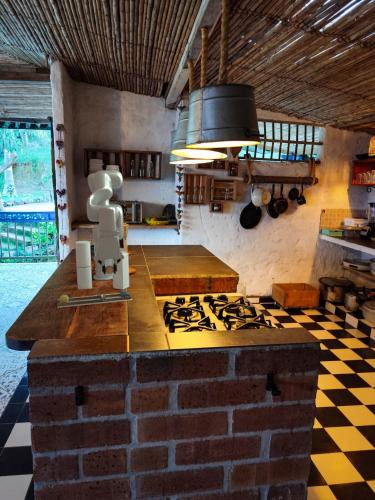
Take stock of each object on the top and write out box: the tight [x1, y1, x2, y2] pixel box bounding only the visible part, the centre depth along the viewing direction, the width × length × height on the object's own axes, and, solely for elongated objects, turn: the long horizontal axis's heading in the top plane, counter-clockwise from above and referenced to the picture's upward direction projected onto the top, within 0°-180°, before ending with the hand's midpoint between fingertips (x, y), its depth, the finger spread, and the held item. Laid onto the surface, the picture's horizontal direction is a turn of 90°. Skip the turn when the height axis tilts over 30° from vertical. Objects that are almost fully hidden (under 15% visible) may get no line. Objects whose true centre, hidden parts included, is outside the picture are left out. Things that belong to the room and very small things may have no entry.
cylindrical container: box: [74, 240, 93, 290], centre depth 181 cm, size 7×7×25 cm
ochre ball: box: [59, 294, 70, 303], centre depth 158 cm, size 4×4×4 cm
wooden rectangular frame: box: [102, 292, 132, 303], centre depth 166 cm, size 6×12×1 cm, turn 109°
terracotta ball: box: [106, 265, 114, 274], centre depth 162 cm, size 4×4×4 cm
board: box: [56, 292, 133, 309], centre depth 164 cm, size 12×33×2 cm, turn 109°
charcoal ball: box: [119, 288, 129, 297], centre depth 166 cm, size 4×4×4 cm
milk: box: [112, 247, 130, 290], centre depth 182 cm, size 6×6×22 cm
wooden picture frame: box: [56, 294, 103, 307], centre depth 160 cm, size 6×20×1 cm, turn 109°
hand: (109, 272), depth 162 cm, fingers closed on terracotta ball, 3 cm apart
